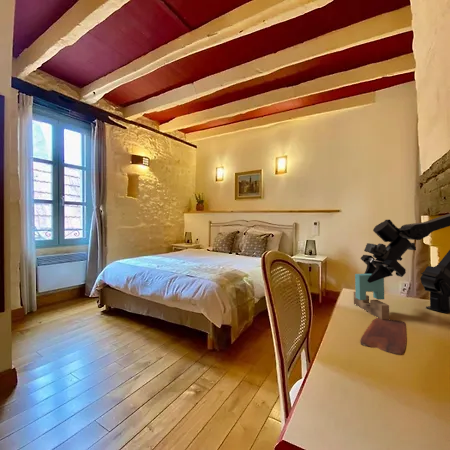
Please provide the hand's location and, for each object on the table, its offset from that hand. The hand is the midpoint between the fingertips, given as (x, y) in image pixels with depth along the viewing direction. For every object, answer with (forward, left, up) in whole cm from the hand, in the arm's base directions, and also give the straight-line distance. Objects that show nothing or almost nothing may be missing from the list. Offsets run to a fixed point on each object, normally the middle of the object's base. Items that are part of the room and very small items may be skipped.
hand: (365, 280), depth 93 cm
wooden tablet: (+11, +16, -12) cm, 23 cm away
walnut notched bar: (-1, 0, -11) cm, 11 cm away
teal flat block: (-1, 0, -7) cm, 7 cm away
